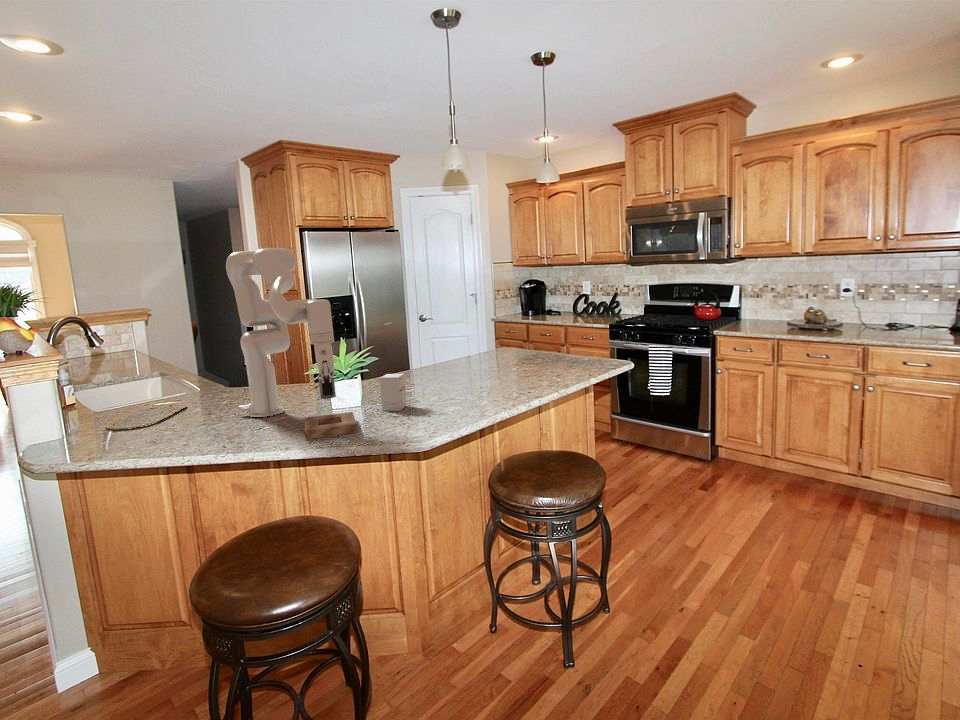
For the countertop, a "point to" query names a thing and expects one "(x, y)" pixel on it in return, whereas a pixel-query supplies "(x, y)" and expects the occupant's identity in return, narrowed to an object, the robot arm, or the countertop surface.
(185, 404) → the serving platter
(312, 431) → the wooden slotted base
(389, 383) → the supplement box
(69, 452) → the countertop surface
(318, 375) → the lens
